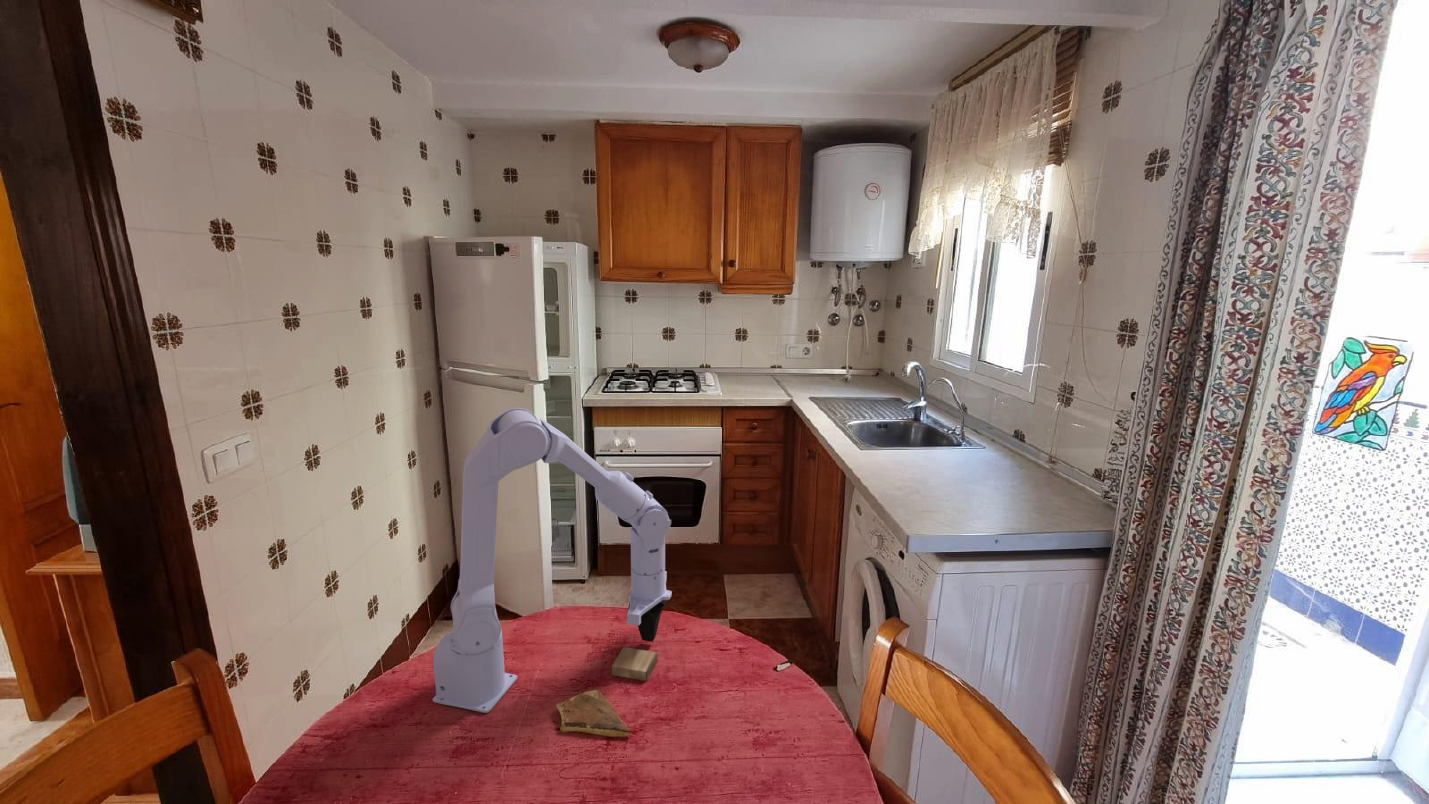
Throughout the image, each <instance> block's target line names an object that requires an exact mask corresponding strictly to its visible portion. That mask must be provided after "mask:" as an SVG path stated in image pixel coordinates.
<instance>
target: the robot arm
mask: <svg viewBox="0 0 1429 804" xmlns="http://www.w3.org/2000/svg"><path fill="white" fill-rule="evenodd" d="M540 460H542V462H543V463H544V464H552V463H557V462H558V463H561V464H563V465H564V466H565V467H566V468H568V469H569V470H570V471H572V472H574V474H575V475H578V476H579V477H580V478H582V479H583V480H584V481H586V482H587V483H588V484H590V486H593V487H594V495H595V496H594V497H595V499H596V501H598V502H599V503H601V505H603V506H604V507H605V508H606V509H608V510H610V511H611V512H612V513H613V514H614V515H616V516H618V518H620V519H621V520H622V521H624V522H626V523H628V524H630V525H631V528H630V574H631V575H630V579H631V581H630V582H631V586H630V587H631V588H630V591H629V605H628V611H627V613H626V614H627V615H626V616H627V617H626V619H627V621H626V622H627V624H628V625H631V626H636V627H637V628H638V631H639V635H640V637H641V640H642V641H643V642H644V641H645V642H650V643H653V642H654V640H655V638H656V636H657V633H658V628H659V624H660V619H661V616H662V612H663V609H664V608H665V605H666V603H667V602H668V601H669V600H670V599H671V598H672V592H673V591H672V590H668V589H667V585H666V584H667V579H668V578H667V577H668V575H667V571H666V534H668V532H669V531H670V528H671V525H672V519H670V517H669V515H668V514H669V513H668V511H667V510H666V509H665V507H663V506H662V505H661V504H660V503H659V502H658V501H657V500H656V499H655V498H654V494H653V493H651V492H650V490H645V491H644V489H642V488H641V487H640V486H639V485H637V484H636V483H635V482H634V479H635V478H634V477H633V476H632V475H631V474H630V473H629V472H628V471H625V472H622V471H620V470H606V469H605V468H604V467H602V466H601V464H599V463H598V462H597V461H596V460H595V459H594V458H592V457H591V456H590V455H589V454H588V453H587V452H586V451H584V450H583V449H582V448H581V447H580V446H579V445H577V443H575V442H574V441H573V440H571V439H570V437H569V436H567V434H565V433H564V432H562V431H560V429H557V428H556V427H554V426H553V425H552V424H550V423H548V422H547V421H545V420H543V419H541V418H540V419H539V420H538V418H537V417H536V415H535V414H534V413H533V412H531V411H530V410H528V409H525V408H523V407H514V408H510V409H507V410H506V411H504V412H502V413H501V414H500V415H498V416H497V417H495V418H494V419H492V420H490V422H489V424H488V426H487V428H486V429H485V432H484V433H483V435H482V436H481V437H480V438H479V440H478V441H477V442H476V444H475V445H474V447H473V448H472V450H471V451H470V452H469V454H468V456H467V457H466V458H465V460H464V463H463V474H462V499H461V500H462V501H461V503H462V505H461V529H460V530H461V536H460V539H461V540H460V562H459V563H460V565H459V579H458V584H457V589H456V590H457V591H456V592H455V594H454V596H453V597H452V600H451V603H450V612H451V614H452V626H453V631H449V632H447V633H446V634H445V635H444V636H442V638H441V639H440V640H439V642H438V644H437V645H436V647H435V649H434V654H433V663H432V665H433V672H434V673H433V674H434V684H435V696H434V697H433V698H432V702H433V703H436V704H441V705H445V706H451V707H456V708H460V709H465V710H471V711H475V712H480V713H485V714H486V713H490V711H492V710H493V708H494V707H495V706H496V704H497V703H498V702H499V701H500V700H501V699H502V697H503V696H504V695H505V694H506V692H508V690H509V689H510V688H511V687H512V686H513V684H514V683H515V682H516V681H517V679H518V675H517V674H512V673H508V672H505V671H506V670H505V657H504V643H503V631H502V630H503V629H502V625H501V623H500V620H499V617H498V613H497V609H496V596H495V583H494V582H495V568H496V567H495V565H496V543H497V519H498V517H497V516H498V500H499V499H498V497H499V495H498V494H499V483H500V481H501V480H502V479H504V478H505V477H507V476H508V475H509V474H511V473H512V472H513V471H517V470H519V469H522V468H525V467H527V466H529V465H533V464H534V463H536V462H538V461H540Z"/></svg>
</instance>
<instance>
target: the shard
mask: <svg viewBox="0 0 1429 804" xmlns="http://www.w3.org/2000/svg"><path fill="white" fill-rule="evenodd" d="M555 706H556V708H557V710H558V712H559V714H560V716H561V725H560V731H561V732H564V733H566V732H582V733H588V734H591V735H598V736H604V737H605V736H607V737H612V738H613V737H615V738H617V737H620V738H623V737H624V738H626V737H630V734H632V731H631V730H630V728H628V726H627V725H626V724H625V722H624V721H623V720H622V719H621V718H620V716H619V715H618V713H617V711H616V710H615V708H614V707H613V706H612V704H611V703H610V702H609V701H608V699H607V698H606V697H605V696H604V695H603V694H602V693H601V692H600V690H599V689H598V690H597V689H595V690H587V691H584V692H582V693H578V694H577V695H574V696H572V697H570V698H567V699H564V700H562V701H560V702H558V703H557V704H556V705H555Z"/></svg>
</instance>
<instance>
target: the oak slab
mask: <svg viewBox="0 0 1429 804" xmlns="http://www.w3.org/2000/svg"><path fill="white" fill-rule="evenodd" d="M658 657H659V655H658V652H657V651H656V652H655V651H651V650H645V649H637V648H633V647H632V648H631V647H625V646H623V647H622V649H621V651H619V653H618V654H617V656H616V658H615V660H614V662H613V663H612V665H611V675H612V676H618V677H621V678H629V679H634V680H639V681H644V682H648V681H649V679H650V678H651V675H652V673H653V671H654V669H655V667H656V665H657V663H658Z"/></svg>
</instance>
